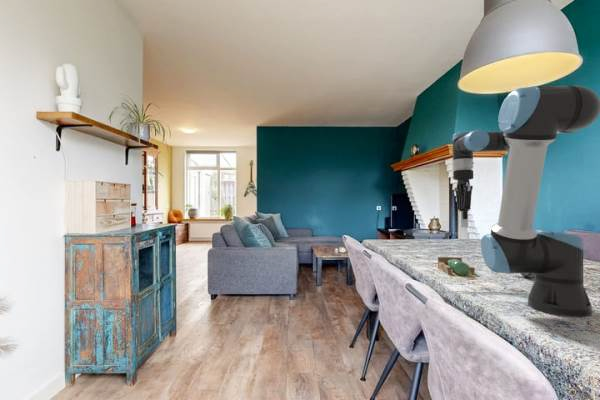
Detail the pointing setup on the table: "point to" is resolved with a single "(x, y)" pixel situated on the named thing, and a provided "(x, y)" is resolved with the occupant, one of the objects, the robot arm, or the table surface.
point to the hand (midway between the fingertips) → (464, 227)
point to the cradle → (446, 269)
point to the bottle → (458, 267)
